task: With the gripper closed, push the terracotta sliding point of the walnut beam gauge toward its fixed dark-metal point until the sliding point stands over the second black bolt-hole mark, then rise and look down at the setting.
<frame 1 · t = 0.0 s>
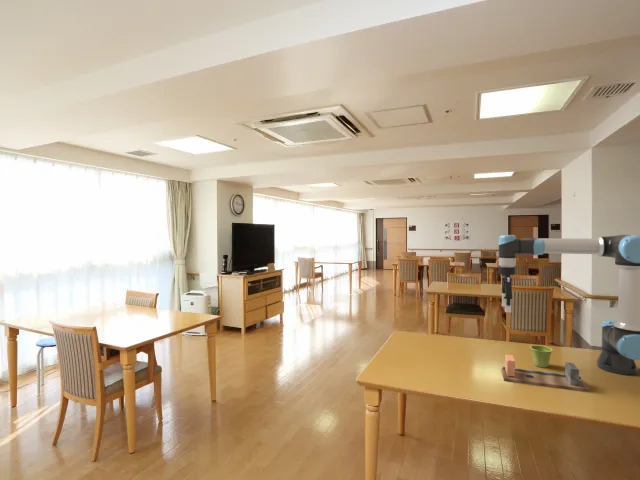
hand: (506, 309, 179), 28 cm above the table, fingers open, 13 cm apart
plant pot: (541, 365, 179), on the table
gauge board: (542, 380, 161), on the table
sliding point: (510, 365, 166), point 5 cm above the table, slide at 0.0 cm
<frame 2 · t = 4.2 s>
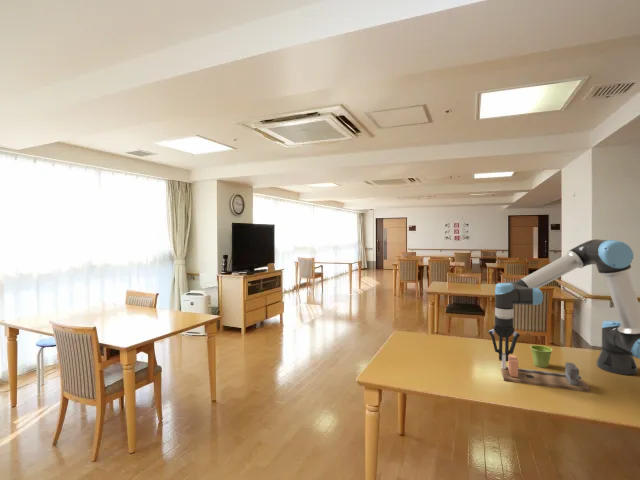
hand: (503, 367, 167), 4 cm above the table, fingers closed
sliding point: (513, 365, 165), point 5 cm above the table, slide at 1.3 cm, touching gripper
everything else where it was.
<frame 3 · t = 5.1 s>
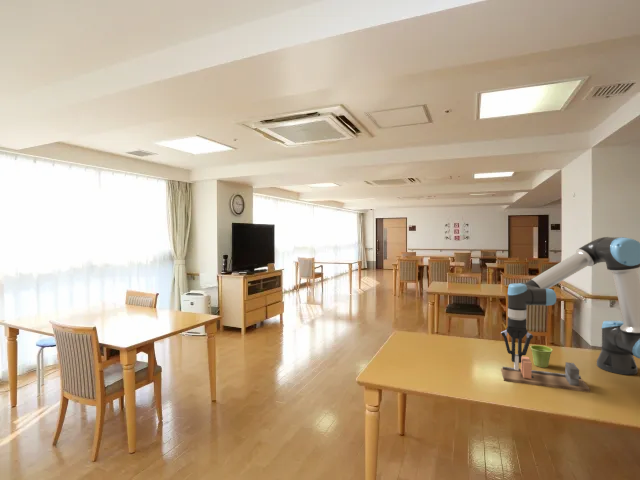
hand: (516, 369, 165), 4 cm above the table, fingers closed
sliding point: (526, 367, 163), point 5 cm above the table, slide at 6.5 cm, touching gripper
everything else where it was.
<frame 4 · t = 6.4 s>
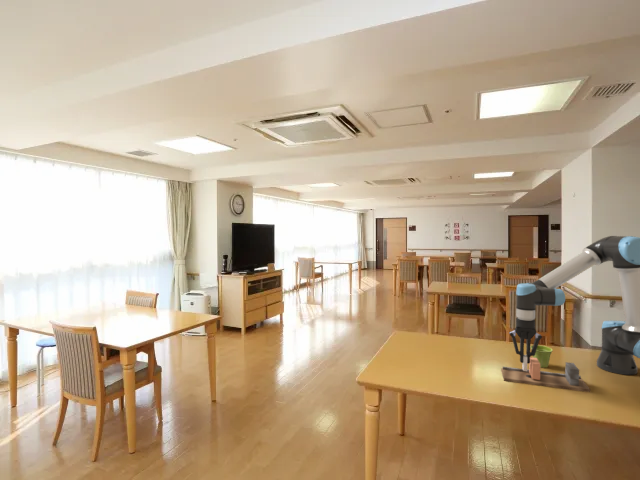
hand: (524, 369, 164), 4 cm above the table, fingers closed
sliding point: (534, 368, 162), point 5 cm above the table, slide at 9.8 cm, touching gripper
everything else where it was.
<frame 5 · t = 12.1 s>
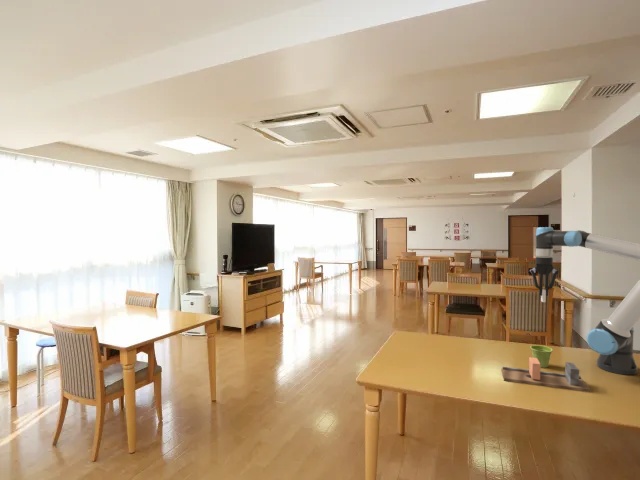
hand: (543, 301, 189), 29 cm above the table, fingers closed
sliding point: (534, 368, 162), point 5 cm above the table, slide at 9.8 cm
everything else where it was.
at the end: sliding point slide at 9.8 cm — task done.
